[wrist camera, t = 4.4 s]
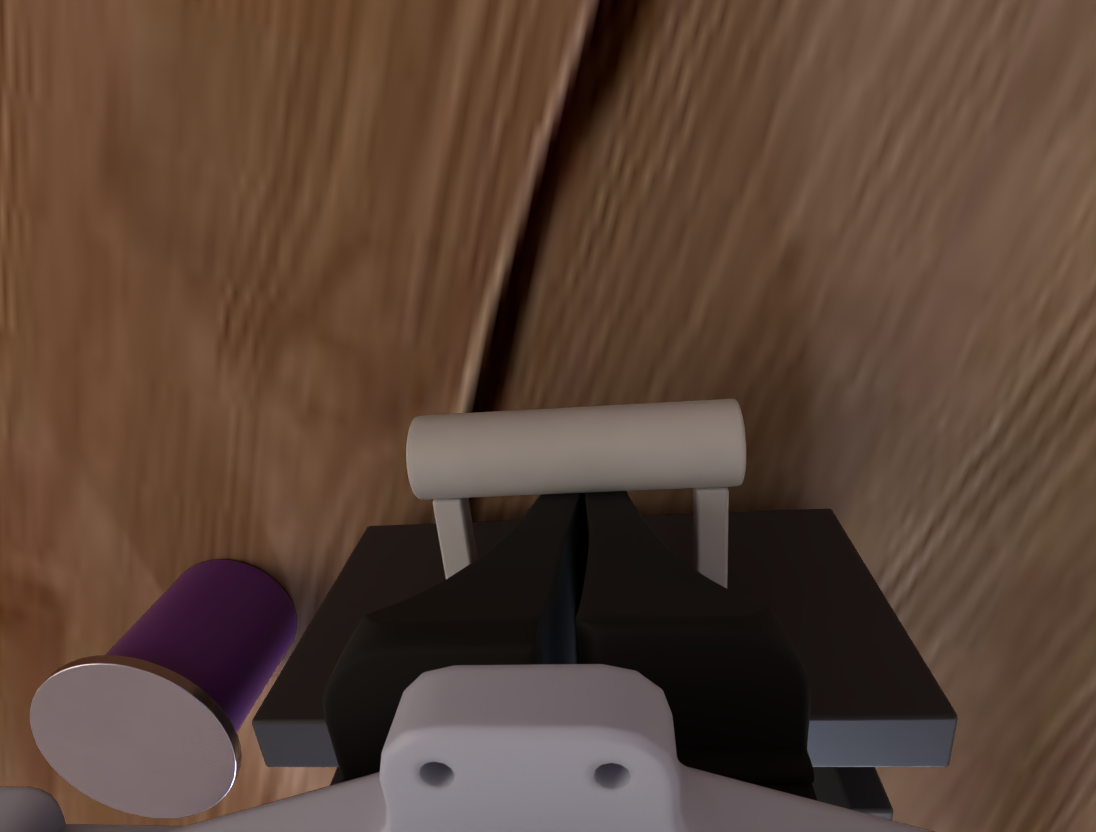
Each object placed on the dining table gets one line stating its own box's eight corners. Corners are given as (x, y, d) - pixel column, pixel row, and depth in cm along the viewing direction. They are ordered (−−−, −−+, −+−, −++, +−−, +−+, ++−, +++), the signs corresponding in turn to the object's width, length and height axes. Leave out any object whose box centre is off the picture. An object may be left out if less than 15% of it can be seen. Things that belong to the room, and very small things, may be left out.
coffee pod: (182, 676, 23) (73, 818, 18) (133, 544, 21) (-5, 665, 16) (332, 674, 22) (259, 819, 17) (295, 539, 20) (202, 661, 15)
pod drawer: (331, 359, 17) (171, 493, 11) (846, 326, 16) (1010, 454, 9) (435, 835, 23) (374, 1091, 17) (804, 839, 22) (884, 1116, 16)
